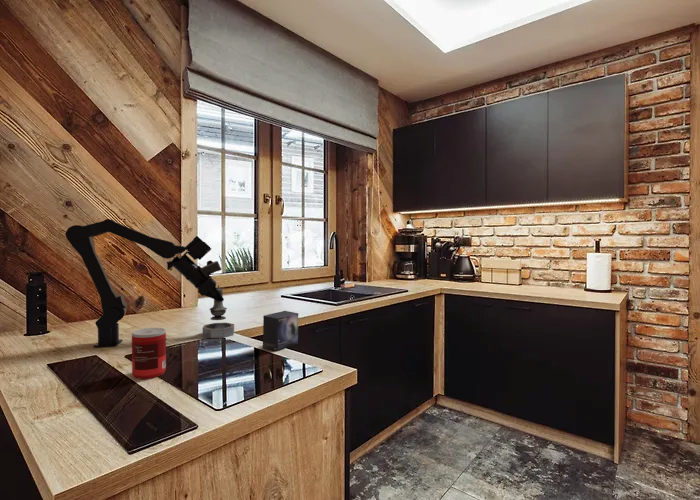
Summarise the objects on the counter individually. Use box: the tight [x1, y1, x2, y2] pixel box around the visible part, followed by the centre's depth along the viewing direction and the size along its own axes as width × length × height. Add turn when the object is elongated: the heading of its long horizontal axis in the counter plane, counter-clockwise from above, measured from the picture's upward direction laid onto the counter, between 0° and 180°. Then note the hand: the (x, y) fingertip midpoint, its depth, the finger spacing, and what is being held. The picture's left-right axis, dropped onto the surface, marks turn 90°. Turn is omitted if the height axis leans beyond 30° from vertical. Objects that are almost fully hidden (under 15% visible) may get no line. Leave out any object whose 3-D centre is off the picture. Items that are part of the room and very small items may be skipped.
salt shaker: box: [209, 284, 228, 321], centre depth 137 cm, size 6×6×12 cm
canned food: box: [131, 327, 167, 380], centre depth 97 cm, size 8×8×11 cm
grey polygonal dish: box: [202, 322, 235, 339], centre depth 137 cm, size 10×10×3 cm
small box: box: [262, 310, 299, 352], centre depth 123 cm, size 11×6×10 cm, turn 149°
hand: (222, 299), depth 137 cm, fingers closed on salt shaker, 4 cm apart
